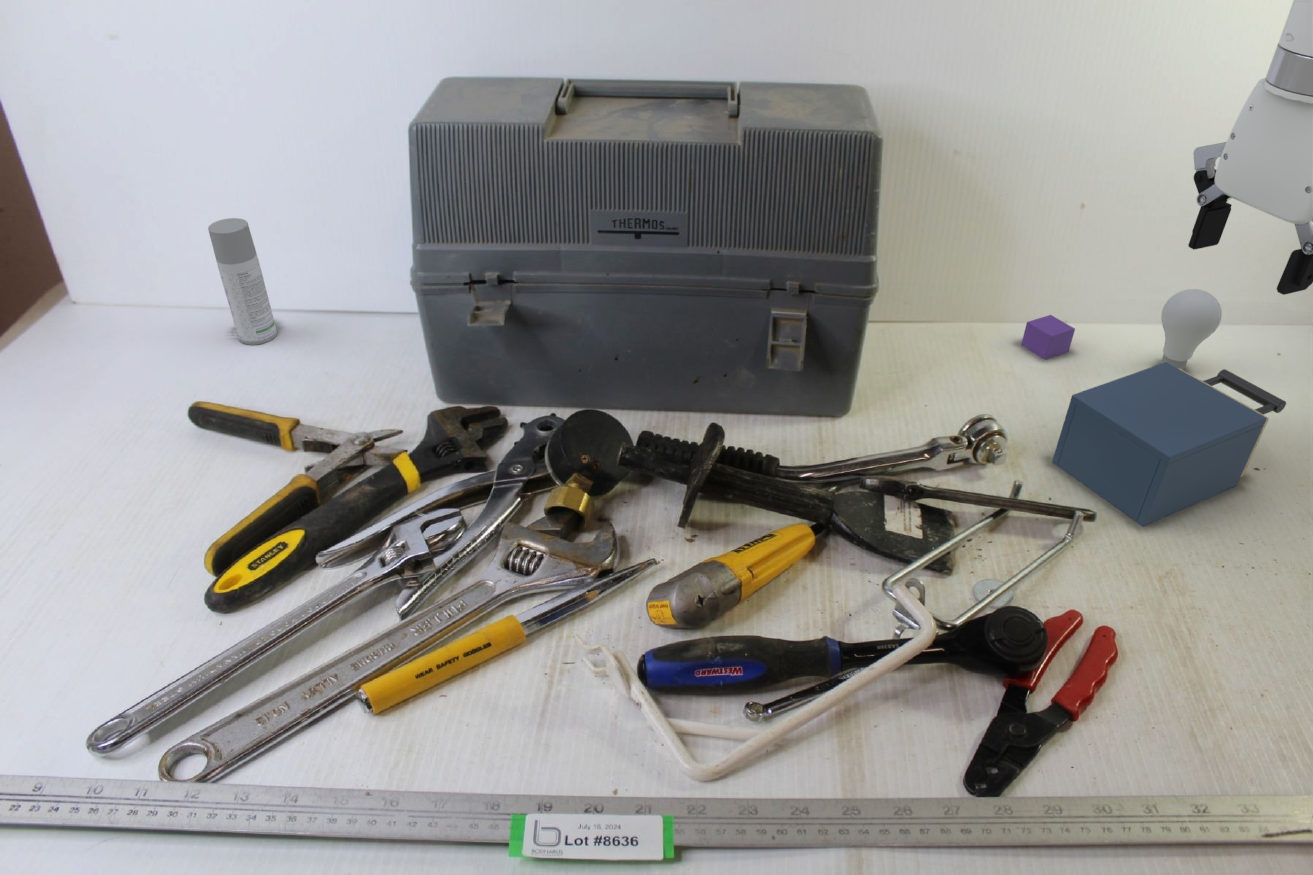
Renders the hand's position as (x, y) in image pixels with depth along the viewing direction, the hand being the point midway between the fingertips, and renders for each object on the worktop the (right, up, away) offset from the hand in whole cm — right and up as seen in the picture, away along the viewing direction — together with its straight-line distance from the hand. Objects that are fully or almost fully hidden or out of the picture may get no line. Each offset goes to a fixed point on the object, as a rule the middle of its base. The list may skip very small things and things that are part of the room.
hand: (1245, 267), depth 88 cm
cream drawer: (+1, -18, +13) cm, 22 cm away
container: (-104, -3, +36) cm, 110 cm away
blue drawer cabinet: (-3, -20, +12) cm, 23 cm away
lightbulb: (+8, -8, +29) cm, 31 cm away
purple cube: (-5, -5, +32) cm, 33 cm away
